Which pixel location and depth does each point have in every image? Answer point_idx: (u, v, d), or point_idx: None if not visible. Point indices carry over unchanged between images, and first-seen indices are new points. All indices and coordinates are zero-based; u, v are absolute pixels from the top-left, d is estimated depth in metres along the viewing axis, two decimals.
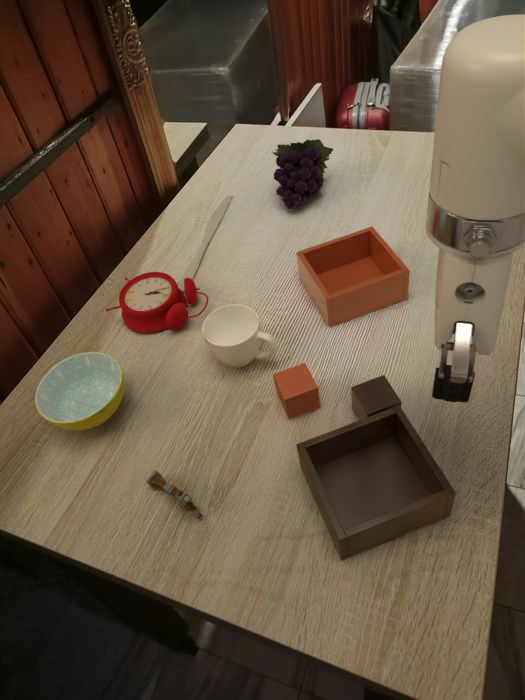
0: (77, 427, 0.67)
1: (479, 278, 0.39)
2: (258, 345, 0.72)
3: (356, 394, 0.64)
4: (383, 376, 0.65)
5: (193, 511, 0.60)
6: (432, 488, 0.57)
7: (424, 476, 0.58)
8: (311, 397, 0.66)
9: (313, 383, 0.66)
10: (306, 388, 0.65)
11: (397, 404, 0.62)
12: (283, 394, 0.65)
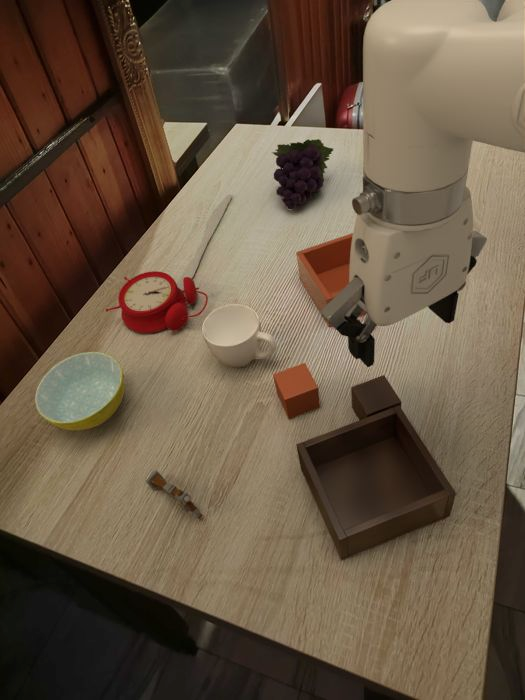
0: (77, 427, 0.67)
1: (366, 238, 0.41)
2: (258, 345, 0.72)
3: (356, 394, 0.64)
4: (383, 376, 0.65)
5: (193, 511, 0.60)
6: (432, 488, 0.57)
7: (424, 476, 0.58)
8: (311, 397, 0.66)
9: (313, 383, 0.66)
10: (306, 388, 0.65)
11: (397, 404, 0.62)
12: (283, 394, 0.65)
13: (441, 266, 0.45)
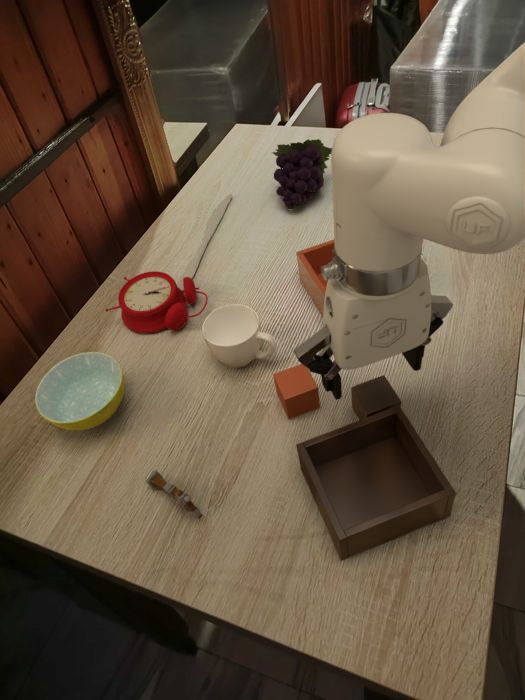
0: (77, 427, 0.67)
1: (332, 298, 0.49)
2: (258, 345, 0.72)
3: (356, 394, 0.64)
4: (383, 376, 0.65)
5: (193, 511, 0.60)
6: (432, 488, 0.57)
7: (424, 476, 0.58)
8: (311, 397, 0.66)
9: (313, 383, 0.66)
10: (306, 388, 0.65)
11: (397, 404, 0.62)
12: (283, 394, 0.65)
13: (399, 327, 0.52)
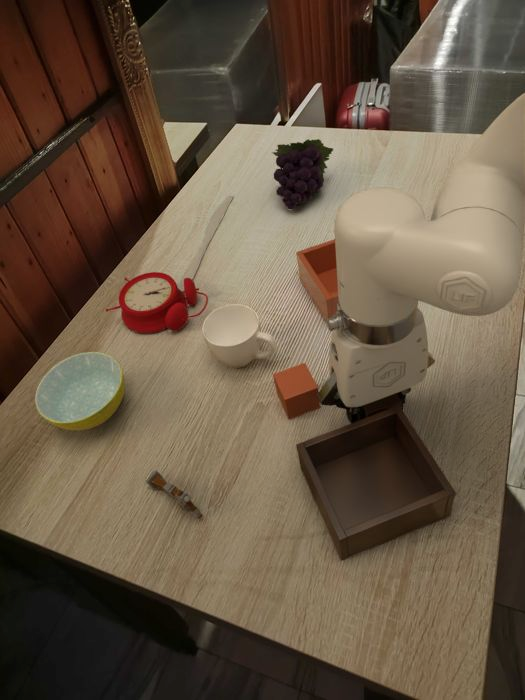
0: (77, 427, 0.67)
1: (337, 345, 0.54)
2: (258, 345, 0.72)
3: None
4: None
5: (193, 511, 0.60)
6: (432, 488, 0.57)
7: (424, 476, 0.58)
8: (311, 397, 0.66)
9: (313, 383, 0.66)
10: (306, 388, 0.65)
11: (397, 404, 0.62)
12: (283, 394, 0.65)
13: (399, 369, 0.56)
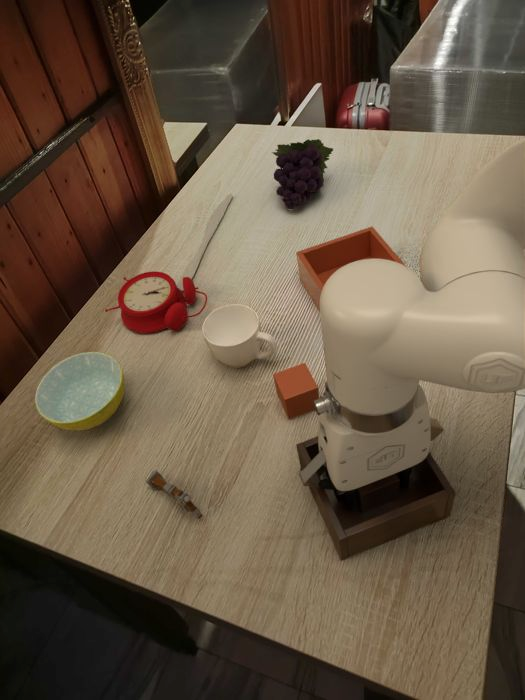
0: (77, 427, 0.67)
1: (325, 428, 0.47)
2: (258, 345, 0.72)
3: None
4: None
5: (193, 511, 0.60)
6: (432, 488, 0.57)
7: (424, 476, 0.58)
8: (311, 397, 0.66)
9: (313, 383, 0.66)
10: (306, 388, 0.65)
11: (395, 482, 0.56)
12: (283, 394, 0.65)
13: (398, 451, 0.49)
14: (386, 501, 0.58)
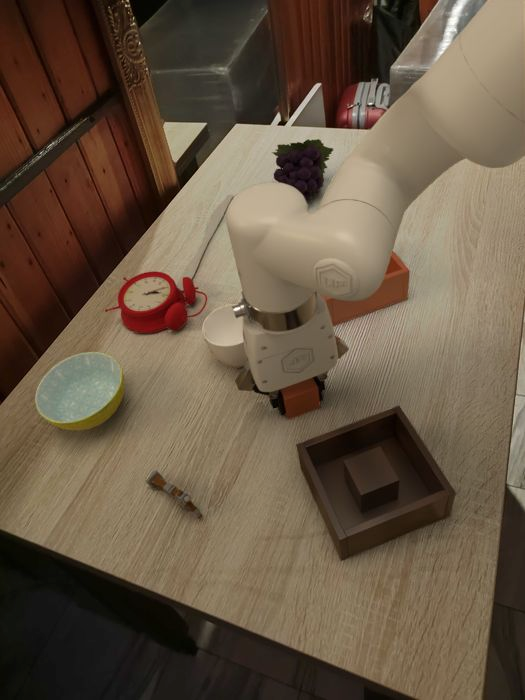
0: (77, 427, 0.67)
1: (244, 332, 0.57)
2: None
3: (349, 469, 0.57)
4: (379, 448, 0.58)
5: (193, 511, 0.60)
6: (432, 488, 0.57)
7: (424, 476, 0.58)
8: (311, 397, 0.66)
9: (313, 383, 0.66)
10: (306, 388, 0.66)
11: (395, 482, 0.56)
12: (283, 394, 0.65)
13: (307, 355, 0.60)
14: (386, 501, 0.58)
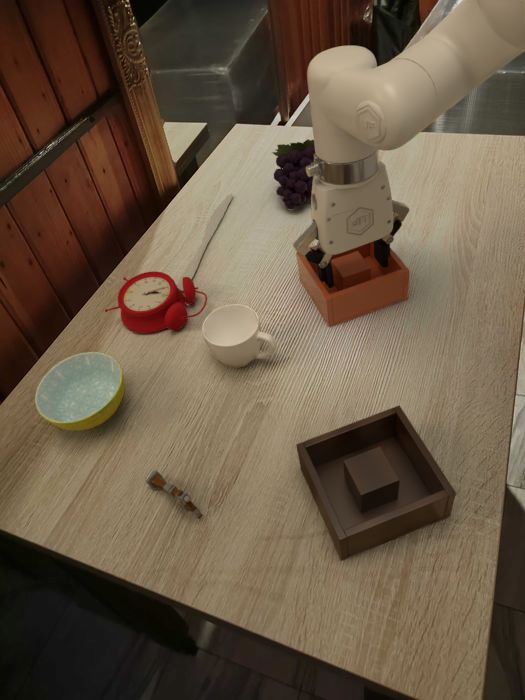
0: (77, 427, 0.67)
1: (315, 193, 0.66)
2: (258, 345, 0.72)
3: (349, 469, 0.57)
4: (379, 448, 0.58)
5: (193, 511, 0.60)
6: (432, 488, 0.57)
7: (424, 476, 0.58)
8: (364, 278, 0.78)
9: (366, 265, 0.77)
10: (360, 269, 0.77)
11: (395, 482, 0.56)
12: (341, 273, 0.77)
13: (368, 216, 0.69)
14: (386, 501, 0.58)
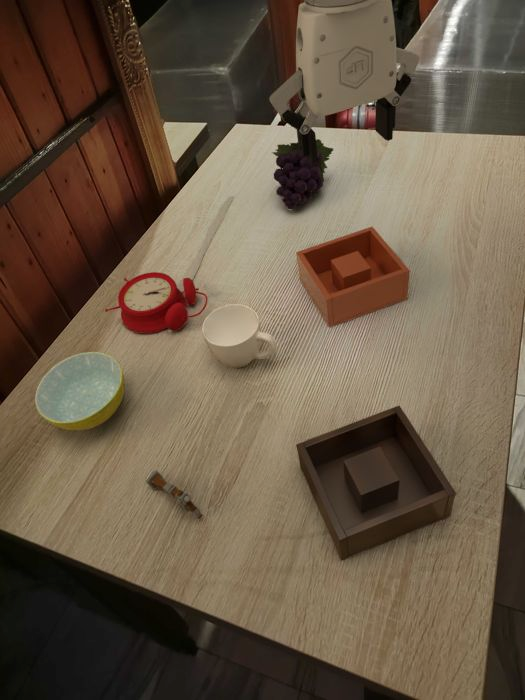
0: (77, 427, 0.67)
1: (301, 24, 0.53)
2: (258, 345, 0.72)
3: (349, 469, 0.57)
4: (379, 448, 0.58)
5: (193, 511, 0.60)
6: (432, 488, 0.57)
7: (424, 476, 0.58)
8: (364, 278, 0.78)
9: (366, 265, 0.77)
10: (360, 269, 0.77)
11: (395, 482, 0.56)
12: (341, 273, 0.77)
13: (366, 62, 0.55)
14: (386, 501, 0.58)
